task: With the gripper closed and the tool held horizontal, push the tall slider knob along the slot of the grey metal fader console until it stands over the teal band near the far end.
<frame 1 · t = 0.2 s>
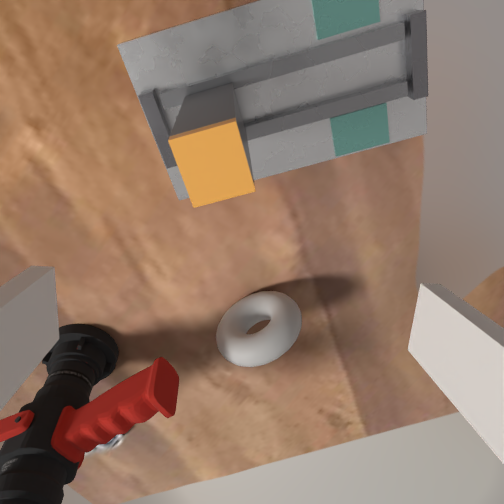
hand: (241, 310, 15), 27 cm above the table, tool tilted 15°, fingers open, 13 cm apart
fader knob: (215, 135, 29), point 9 cm above the table, slide at 0.0 cm
fire hose nozzle: (94, 343, 52), on the table
donut: (255, 297, 49), on the table
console: (281, 88, 36), on the table
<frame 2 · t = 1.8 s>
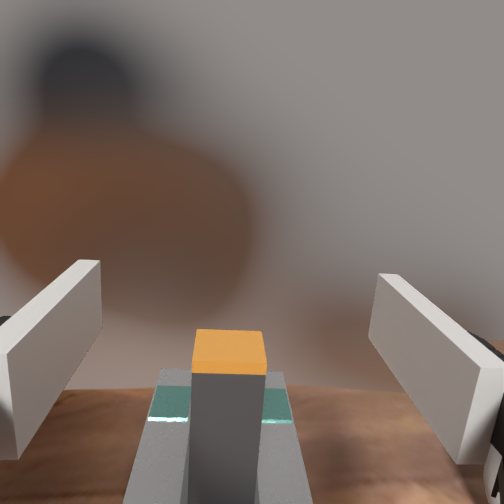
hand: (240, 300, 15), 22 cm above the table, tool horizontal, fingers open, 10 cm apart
fader knob: (224, 429, 27), point 9 cm above the table, slide at 0.0 cm
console: (219, 466, 36), on the table
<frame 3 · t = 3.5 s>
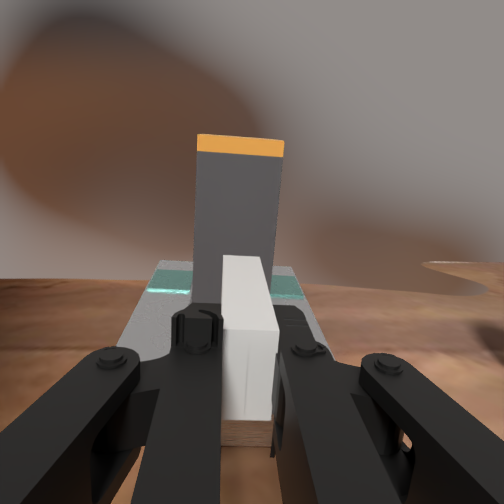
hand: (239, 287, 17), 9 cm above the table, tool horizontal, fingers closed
fader knob: (233, 248, 24), point 9 cm above the table, slide at 0.0 cm
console: (225, 334, 32), on the table
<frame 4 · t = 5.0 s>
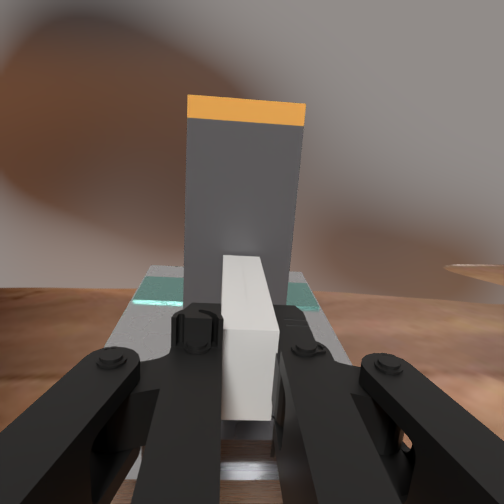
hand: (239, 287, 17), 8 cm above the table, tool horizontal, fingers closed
fader knob: (236, 250, 19), point 9 cm above the table, slide at 0.1 cm, touching gripper
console: (226, 355, 27), on the table
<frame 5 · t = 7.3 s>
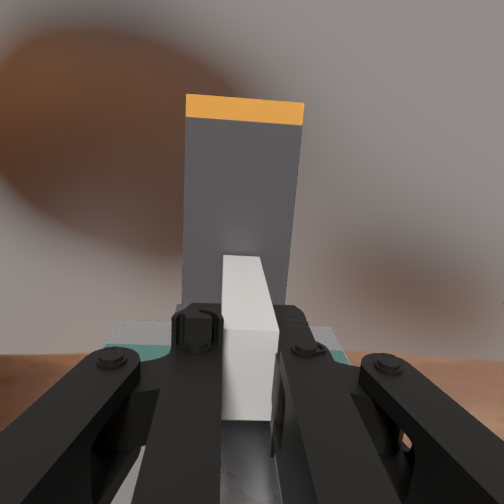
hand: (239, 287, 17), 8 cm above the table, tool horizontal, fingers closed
fader knob: (235, 249, 19), point 9 cm above the table, slide at 11.5 cm, touching gripper
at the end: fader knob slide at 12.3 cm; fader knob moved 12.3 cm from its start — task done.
